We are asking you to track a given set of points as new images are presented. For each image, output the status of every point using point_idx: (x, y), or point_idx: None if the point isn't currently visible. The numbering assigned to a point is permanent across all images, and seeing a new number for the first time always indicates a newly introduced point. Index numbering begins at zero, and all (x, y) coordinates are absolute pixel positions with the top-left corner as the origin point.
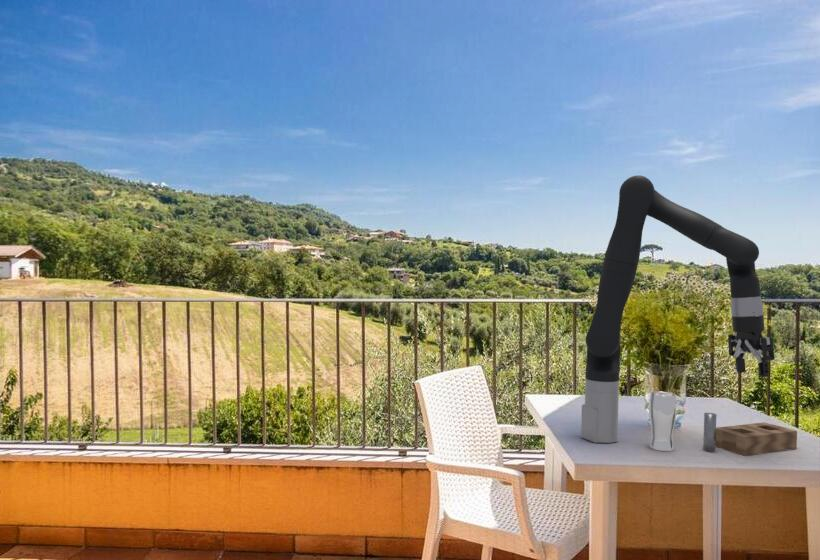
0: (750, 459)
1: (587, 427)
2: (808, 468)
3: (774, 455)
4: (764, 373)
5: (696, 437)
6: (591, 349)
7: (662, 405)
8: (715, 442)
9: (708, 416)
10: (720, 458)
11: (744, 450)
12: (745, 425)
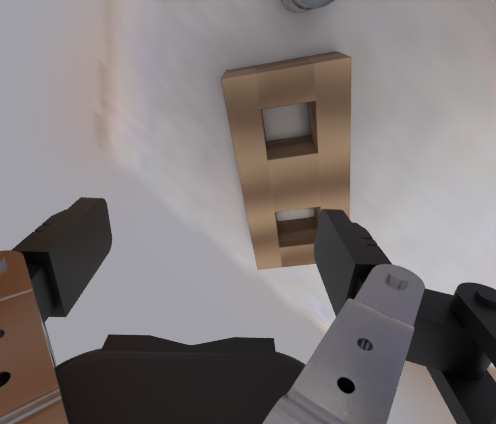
0: (195, 60)
1: None
2: (118, 153)
3: (220, 157)
4: (53, 218)
5: (429, 66)
6: None
7: None
8: (285, 1)
9: None
10: None
11: (226, 72)
12: (339, 189)
